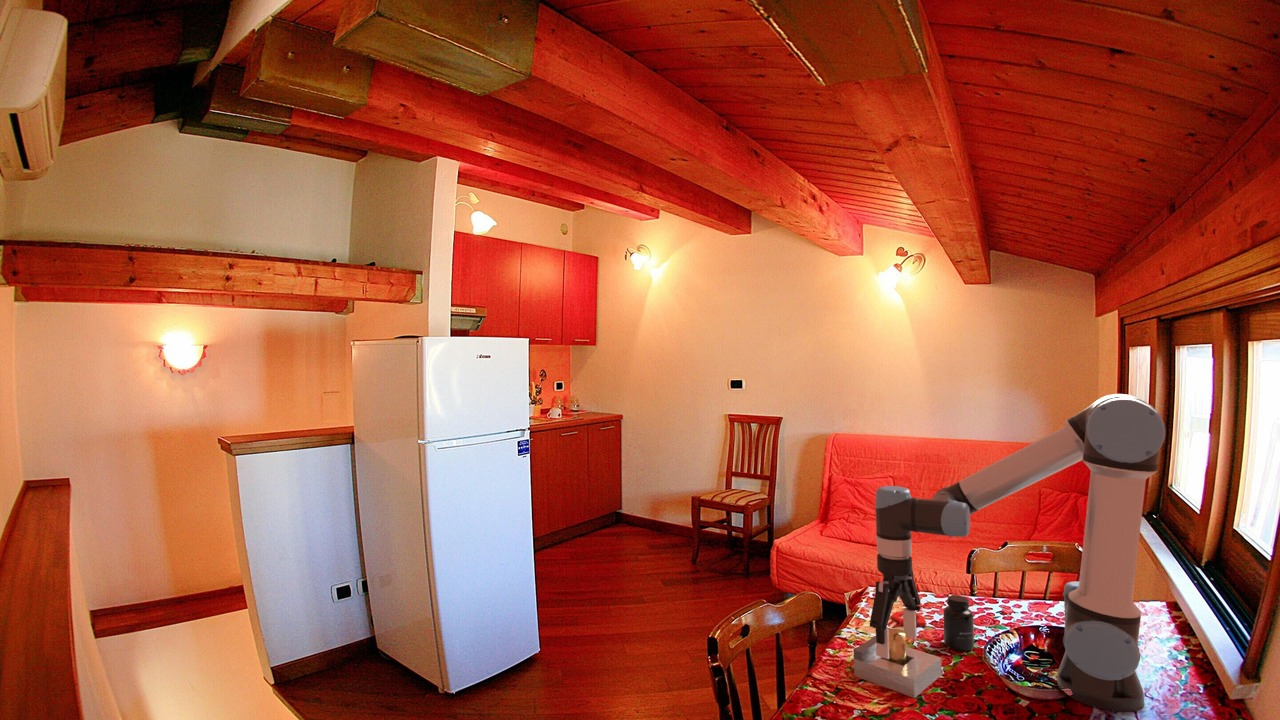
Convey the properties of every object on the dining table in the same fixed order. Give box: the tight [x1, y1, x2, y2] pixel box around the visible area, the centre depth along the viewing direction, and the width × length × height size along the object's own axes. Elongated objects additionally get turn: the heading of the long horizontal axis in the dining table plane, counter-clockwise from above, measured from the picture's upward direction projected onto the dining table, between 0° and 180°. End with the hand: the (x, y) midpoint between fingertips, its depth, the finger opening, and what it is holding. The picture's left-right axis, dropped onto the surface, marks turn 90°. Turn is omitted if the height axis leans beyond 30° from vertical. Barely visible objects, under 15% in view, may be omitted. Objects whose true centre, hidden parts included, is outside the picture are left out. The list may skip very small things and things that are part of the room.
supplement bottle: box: [943, 594, 975, 652], centre depth 162 cm, size 7×7×12 cm
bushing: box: [888, 627, 907, 666], centre depth 148 cm, size 4×4×10 cm
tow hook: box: [891, 598, 927, 627], centre depth 179 cm, size 8×13×9 cm
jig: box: [853, 635, 943, 699], centre depth 148 cm, size 14×14×6 cm
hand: (897, 647), depth 148 cm, fingers open, 13 cm apart
